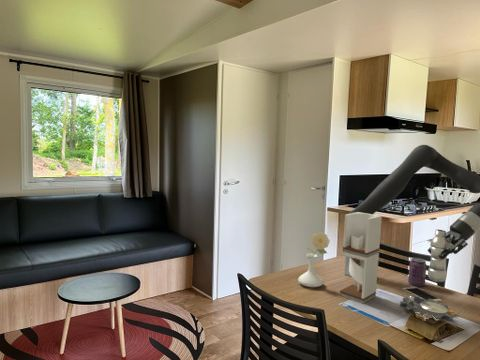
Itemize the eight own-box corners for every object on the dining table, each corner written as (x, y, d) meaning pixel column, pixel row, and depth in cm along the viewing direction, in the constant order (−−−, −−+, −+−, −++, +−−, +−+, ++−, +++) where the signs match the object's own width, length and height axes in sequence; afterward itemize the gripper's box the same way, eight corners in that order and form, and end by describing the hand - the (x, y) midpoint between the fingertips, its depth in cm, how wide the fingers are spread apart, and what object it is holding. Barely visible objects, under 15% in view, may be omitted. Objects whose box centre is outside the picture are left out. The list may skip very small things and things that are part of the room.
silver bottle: (444, 279, 139) (448, 229, 138) (447, 285, 133) (452, 233, 131) (425, 276, 141) (429, 228, 140) (428, 282, 135) (432, 231, 133)
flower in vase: (295, 286, 158) (298, 232, 155) (300, 278, 168) (303, 227, 166) (324, 292, 153) (328, 235, 151) (328, 283, 163) (331, 230, 161)
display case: (352, 288, 158) (358, 212, 155) (375, 296, 151) (381, 216, 148) (339, 295, 150) (345, 214, 147) (363, 303, 143) (369, 219, 140)
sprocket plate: (401, 315, 134) (402, 303, 134) (399, 296, 151) (399, 286, 151) (458, 325, 127) (459, 314, 127) (449, 305, 144) (450, 294, 144)
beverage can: (420, 282, 170) (423, 258, 168) (427, 287, 163) (429, 262, 161) (405, 281, 170) (407, 257, 169) (411, 286, 163) (413, 261, 162)
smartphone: (415, 286, 163) (442, 300, 149) (414, 287, 163) (442, 301, 149) (401, 287, 161) (428, 301, 147) (401, 289, 161) (428, 303, 147)
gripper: (448, 215, 143) (417, 243, 143) (474, 222, 128) (440, 253, 129) (459, 228, 143) (429, 256, 144) (486, 237, 129) (452, 268, 129)
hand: (434, 254), depth 136 cm, fingers closed on silver bottle, 6 cm apart
